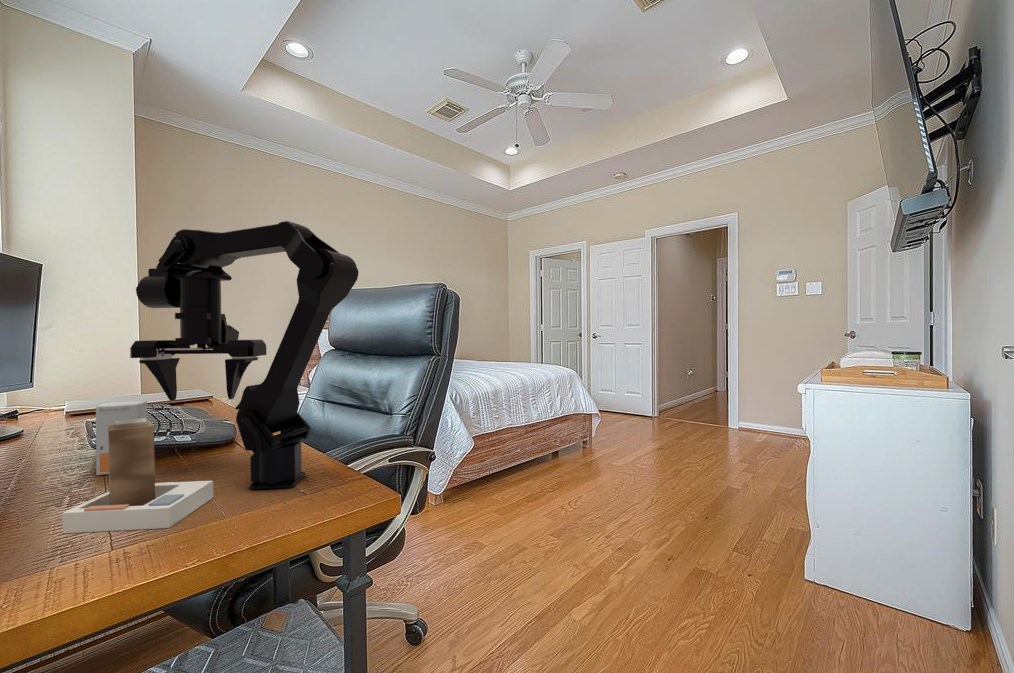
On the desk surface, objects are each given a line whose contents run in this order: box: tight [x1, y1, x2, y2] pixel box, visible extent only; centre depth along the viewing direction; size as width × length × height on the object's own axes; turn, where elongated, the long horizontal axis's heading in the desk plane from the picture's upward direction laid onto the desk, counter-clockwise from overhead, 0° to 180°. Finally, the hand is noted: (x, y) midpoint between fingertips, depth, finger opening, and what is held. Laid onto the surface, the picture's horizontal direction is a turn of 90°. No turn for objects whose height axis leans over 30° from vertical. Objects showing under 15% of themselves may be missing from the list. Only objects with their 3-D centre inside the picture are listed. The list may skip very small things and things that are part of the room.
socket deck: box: [61, 480, 214, 534], centre depth 59 cm, size 12×10×3 cm
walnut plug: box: [108, 418, 156, 506], centre depth 58 cm, size 4×4×13 cm
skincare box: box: [95, 400, 148, 476], centre depth 77 cm, size 6×4×12 cm
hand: (202, 399), depth 74 cm, fingers open, 9 cm apart
